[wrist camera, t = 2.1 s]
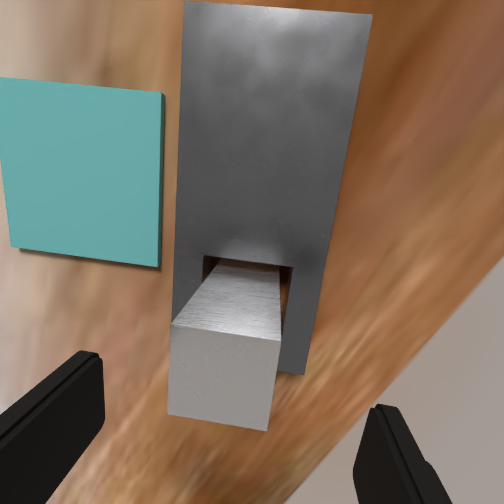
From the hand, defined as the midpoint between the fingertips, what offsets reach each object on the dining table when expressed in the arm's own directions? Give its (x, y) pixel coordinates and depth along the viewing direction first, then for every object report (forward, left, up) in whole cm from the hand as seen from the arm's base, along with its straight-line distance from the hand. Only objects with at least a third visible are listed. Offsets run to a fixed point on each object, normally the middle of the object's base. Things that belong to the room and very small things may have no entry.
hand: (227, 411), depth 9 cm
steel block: (0, +1, -12) cm, 12 cm away
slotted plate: (+6, +1, -12) cm, 13 cm away
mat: (+7, +14, -12) cm, 19 cm away
